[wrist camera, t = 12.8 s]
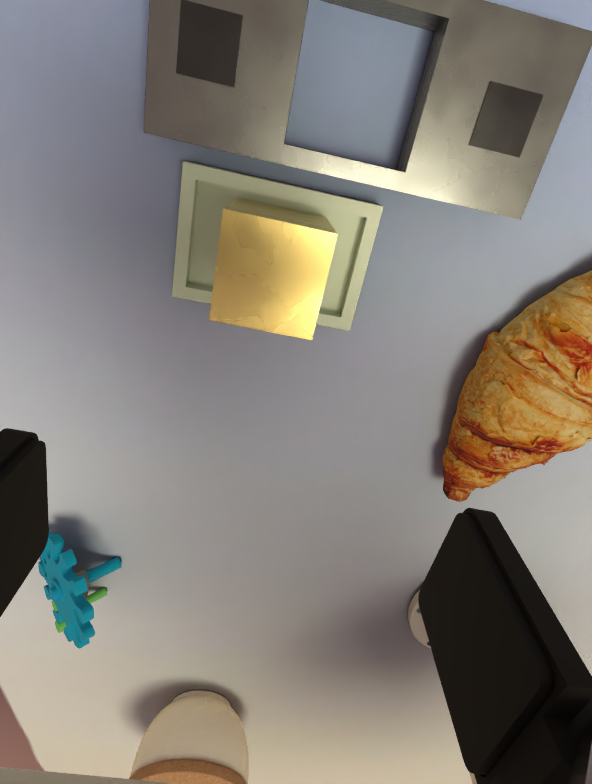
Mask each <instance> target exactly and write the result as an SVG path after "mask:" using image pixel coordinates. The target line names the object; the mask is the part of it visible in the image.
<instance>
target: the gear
mask: <svg viewBox="0 0 592 784" xmlns="http://www.w3.org/2000/svg"><path fill="white" fill-rule="evenodd" d="M64 547H65V542H64V540H63V538H62V536H61V535H60V534H59V533H57V534H55V535H54V533H53V532H49V537H48V541H47V544H46V547H45V549H44V551H43V553H42V554H41V556H40V557H41V559H42V561H41V562H39V571H40V574H41V575H42V576H43V577H44V578H45V580H46V581H47V583H48V585H46V586H44V589H45V593H46V597H47V599H48V600H50V599H52V600H53V601H52V605H53V608H54V610H53V613H54V616H55V619H56V622H55V625H56V628H57V630H58V632H59V633H60V632H62V631H63V630H64V634H65V636H66V638H67V639H68V641H69V642H71V641H72V640H73V641H74V644H75V645H76V647H78V648H79V649H80V648H82V647H83V646H85V645H87V644H88V643H89V638H91V637H92V636H94V634H95V631H94V629H93V626H92V625H91V623H90V621H89V620H91V619H93V618H94V609H93V607H92V605H91V604H90V603H92V602H94V601H96V600H98V599H100V598H101V597H103V596H105V595H107V591H106V589H105V588H102V589H100V590H98V591H96V592H94V593H92V594H90V595H89V596H87V595H88V590H89V583H90V582H92V581H94V580H96V579H98V578H100V577H102V576H104V575H106V574H108V573H110V572H112V571H114V570H116V569H119V568H121V561H120V559H119V558H118V557H116V558H114V559H112V560H110V561H107V562H105V563H103V564H101V565H99V566H97V567H95V568H93V569H90V570H88V571H86V572H85V571H84V570H83V569H82V570H80V571H78V572H76V573H74V572H73V570H72V567H71V566H74V565H76V564H77V561H76V558H75V555H74V553H73V551H72V549H70V550H68V551H65V552H62V548H64Z"/></svg>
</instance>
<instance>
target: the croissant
mask: <svg viewBox="0 0 592 784" xmlns="http://www.w3.org/2000/svg"><path fill="white" fill-rule="evenodd" d="M591 439H592V270H591V271H589V272H586V273H584V274H582V275H580V276H577V277H574V278H571V279H569V280H568V281H566V282H565V283H563V284H561V285H560V286H558V287H556V288H555V290H553V291H551V292H549V293H547V294H546V295H544V296H543V297H542V298H540V299H538V300H537V301H535V302H533V303H532V304H530V305H529V306H527V307H526V308H525V309H524V310H523V311H522V312H521V313H520V314H519V315H518V316H516V317H515V318H514V319H513V320H512V321H510V322H509V323H508V324H507V325H506V326H505V327H503V328H502V330H501V331H500V332H499V333H498V332H495V331H494V332H492V333H490V334H489V335H488V336H487V339H486V342H485V345H484V347H483V350H482V352H481V354H480V355H479V357H478V359H477V363H476V366H475V367H474V368H473V369H472V370H471V371H470V373H469V374H468V376H467V378H466V380H465V383H464V385H463V388H462V390H461V393H460V396H459V399H458V404H457V411H456V414H455V416H454V419H453V422H452V427H451V431H450V435H449V440H448V445H447V447H446V448H445V451H444V454H443V457H442V460H443V475H444V484H443V491H444V493H445V495H446V496H447V497H448V499H452V500H456V501H459V502H461V501H464V500H466V499H467V498H468V496H469V495H470V493H471V491H473V490H474V489H475V488H479V487H480V488H485V487H490V486H491V485H492V484H494V483H496V482H498V481H500V480H501V479H502V478H505V476H507V475H508V474H509V473H510V472H514V471H516V470H518V469H522V468H526V467H529V466H531V465H534V464H539V463H541V464H543V465H545V463H546V462H548V461H549V460H550V459H551V458H552V457H554V456H555V455H556V454H557V453H561V452H565V451H571V450H574V449H577V448H579V447H581V446H583V445H584V444H585V443H586V442H588V441H591Z"/></svg>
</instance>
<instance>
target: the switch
mask: <svg viewBox="0 0 592 784" xmlns="http://www.w3.org/2000/svg"><path fill="white" fill-rule="evenodd" d="M308 1H309V0H150V4H149V26H148V49H147V71H146V94H145V116H144V133H148V134H152V135H157V136H161V137H165V138H170V139H174V140H178V141H183V142H187V143H191V144H196V145H200V146H204V147H209V148H213V149H217V150H222V151H226V152H230V153H235V154H239V155H243V156H248V157H252V158H256V159H261V160H265V161H269V162H274V163H278V164H282V165H287V166H291V167H295V168H300V169H304V170H308V171H313V172H317V173H321V174H326V175H330V176H334V177H339V178H343V179H347V180H352V181H356V182H360V183H365V184H369V185H373V186H378V187H382V188H386V189H391V190H395V191H399V192H404V193H408V194H412V195H417V196H421V197H425V198H430V199H434V200H438V201H443V202H447V203H451V204H456V205H460V206H464V207H469V208H473V209H477V210H482V211H486V212H490V213H495V214H499V215H503V216H508V217H512V218H516V219H521V218H522V215H523V213H524V210H525V208H526V205H527V203H528V200H529V198H530V196H531V193H532V191H533V188H534V186H535V183H536V181H537V178H538V176H539V174H540V171H541V169H542V166H543V164H544V161H545V159H546V156H547V154H548V151H549V149H550V147H551V144H552V142H553V139H554V137H555V134H556V132H557V129H558V127H559V124H560V122H561V120H562V117H563V115H564V112H565V110H566V107H567V105H568V102H569V100H570V98H571V95H572V93H573V90H574V88H575V85H576V83H577V80H578V78H579V75H580V73H581V71H582V68H583V66H584V63H585V61H586V58H587V56H588V53H589V51H590V49H591V46H592V31H589V30H586V29H582V28H579V27H575V26H572V25H568V24H565V23H561V22H558V21H554V20H550V19H547V18H543V17H540V16H536V15H533V14H529V13H526V12H522V11H519V10H515V9H512V8H508V7H505V6H501V5H498V4H494V3H491V2H487V1H484V0H321V1H325V2H328V3H332V4H336V5H339V6H343V7H347V8H350V9H354V10H358V11H361V12H365V13H369V14H372V15H376V16H380V17H383V18H387V19H391V20H394V21H398V22H402V23H405V24H409V25H413V26H416V27H420V28H424V29H427V30H431V31H435V32H434V36H433V39H432V43H431V46H430V50H429V54H428V57H427V61H426V65H425V68H424V72H423V75H422V79H421V83H420V86H419V90H418V94H417V97H416V101H415V104H414V108H413V112H412V115H411V119H410V122H409V126H408V130H407V133H406V137H405V141H404V144H403V148H402V151H401V155H400V159H399V162H398V166H397V170H392V169H388V168H383V167H379V166H375V165H371V164H366V163H362V162H358V161H354V160H349V159H345V158H341V157H337V156H333V155H328V154H324V153H320V152H316V151H311V150H307V149H303V148H299V147H294V146H290V145H286V144H284V143H285V137H286V131H287V125H288V119H289V113H290V107H291V101H292V96H293V90H294V84H295V78H296V72H297V66H298V60H299V54H300V48H301V43H302V37H303V31H304V25H305V19H306V13H307V7H308Z"/></svg>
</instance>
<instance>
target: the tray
mask: <svg viewBox="0 0 592 784" xmlns="http://www.w3.org/2000/svg"><path fill="white" fill-rule="evenodd" d="M238 197H241V198H245V199H249V200H254V201H258V202H263V203H267V204H271V205H276V206H280V207H285V208H289V209H294V210H298V211H302V212H307V213H311V214H316V215H320V216H324V217H326V218H327V219H328V221H329V222H330V224H331V225H332V226H333V228H334V229H335V231H336V232H337V234H338V235H337V239H336V244H335V248H334V252H333V256H332V260H331V264H330V268H329V272H328V277H327V281H326V285H325V289H324V293H323V297H322V301H321V305H320V310H319V314H318V318H317V322H316V324H317V325H322V326H327V327H332V328H337V329H343V330H348V331H350V328H351V324H352V320H353V317H354V313H355V310H356V306H357V302H358V299H359V295H360V291H361V288H362V284H363V280H364V277H365V273H366V269H367V266H368V262H369V258H370V255H371V251H372V247H373V244H374V240H375V236H376V233H377V229H378V226H379V222H380V218H381V215H382V211H383V206H381V205H379V204H374V203H370V202H366V201H361V200H357V199H352V198H348V197H343V196H339V195H335V194H330V193H326V192H321V191H317V190H312V189H308V188H304V187H299V186H295V185H290V184H286V183H282V182H277V181H273V180H268V179H264V178H259V177H255V176H251V175H246V174H242V173H237V172H233V171H229V170H224V169H220V168H215V167H211V166H206V165H202V164H198V163H193V162H189V161H183V166H182V178H181V191H180V203H179V215H178V228H177V240H176V252H175V265H174V277H173V289H172V297H177V298H182V299H187V300H192V301H198V302H203V303H208V304H211V300H212V292H213V284H214V276H215V268H216V261H217V253H218V245H219V237H220V230H221V222H222V214H223V208H225V207H226V206H227V205H229V204H230V203H231V202H233V201H234V200H236V199H237V198H238Z"/></svg>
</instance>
